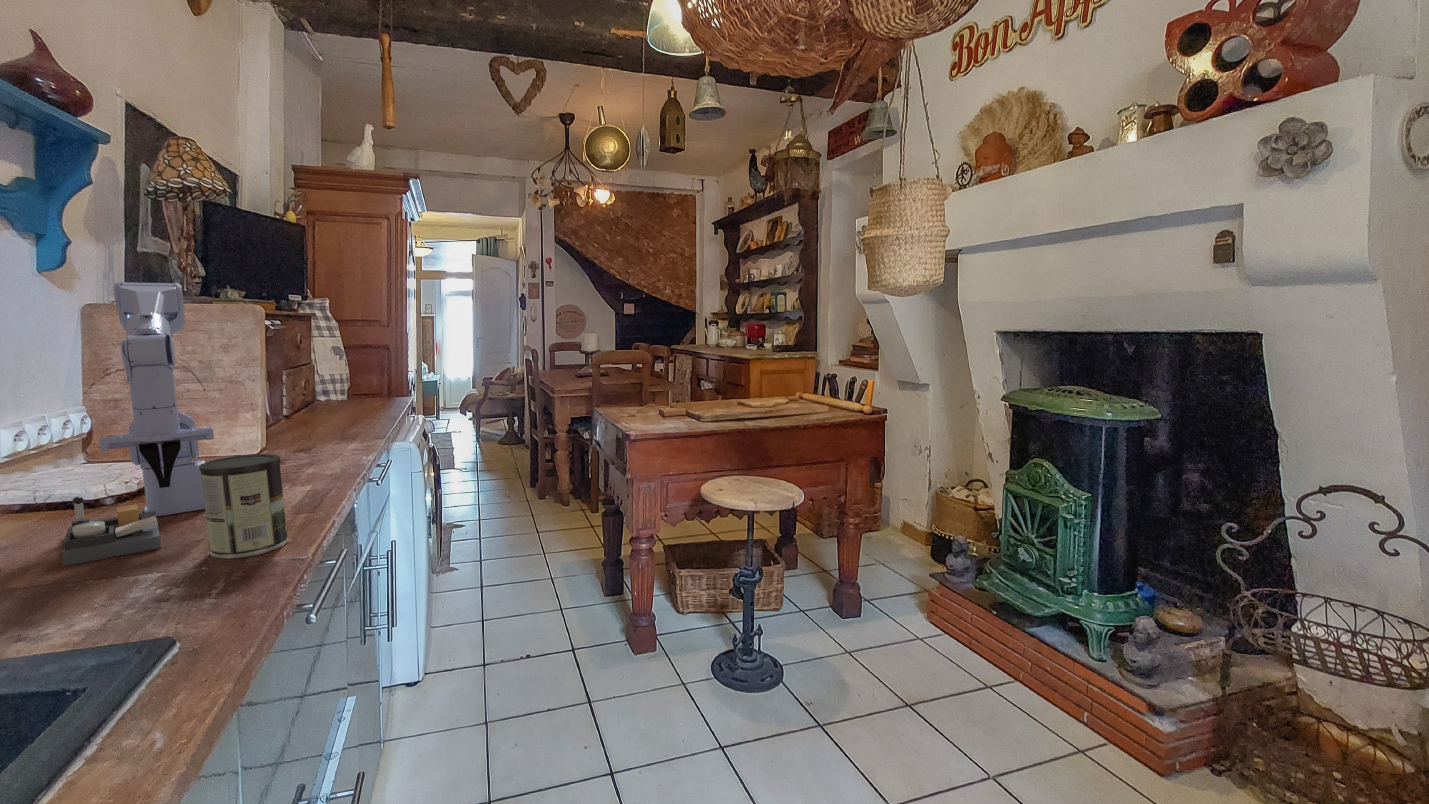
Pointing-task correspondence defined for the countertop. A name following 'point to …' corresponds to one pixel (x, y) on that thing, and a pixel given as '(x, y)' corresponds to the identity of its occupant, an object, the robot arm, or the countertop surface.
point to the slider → (127, 514)
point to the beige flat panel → (136, 526)
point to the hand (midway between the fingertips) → (164, 486)
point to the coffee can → (244, 505)
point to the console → (109, 541)
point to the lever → (78, 507)
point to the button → (89, 529)
